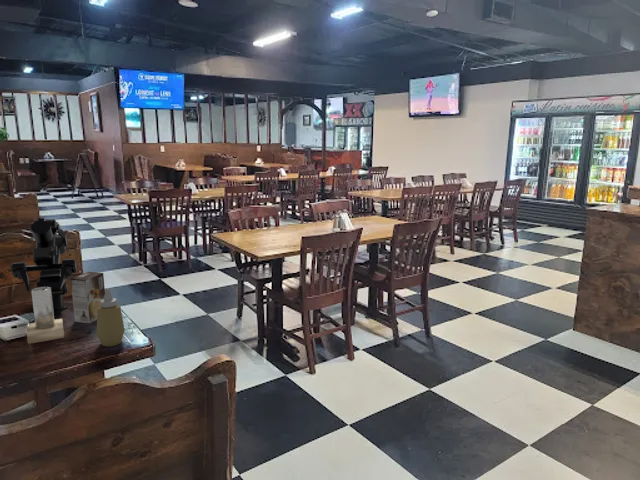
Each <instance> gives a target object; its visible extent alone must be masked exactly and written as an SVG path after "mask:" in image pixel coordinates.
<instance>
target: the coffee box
mask: <svg viewBox="0 0 640 480" xmlns="http://www.w3.org/2000/svg"><path fill="white" fill-rule="evenodd" d="M104 277H105V275H104V272H97V271H96V272H95V271H87V272H84V273H81V274H79V275H76V276H73V277H71V278H70V283H71V285H70V286H71V294H72V296H71V297H72V305H73V315H74V321H75V322H76V323H83V324H91V323H94V322H96V321H97V311H98V308H99V307H100V306H101V305H100V301H101V300H102V299H104V295H105V289H106V288H105V287H106V286H105V279H104Z"/></svg>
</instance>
